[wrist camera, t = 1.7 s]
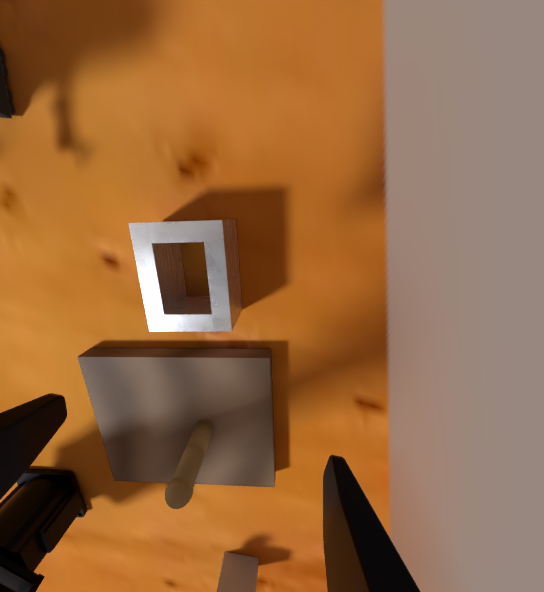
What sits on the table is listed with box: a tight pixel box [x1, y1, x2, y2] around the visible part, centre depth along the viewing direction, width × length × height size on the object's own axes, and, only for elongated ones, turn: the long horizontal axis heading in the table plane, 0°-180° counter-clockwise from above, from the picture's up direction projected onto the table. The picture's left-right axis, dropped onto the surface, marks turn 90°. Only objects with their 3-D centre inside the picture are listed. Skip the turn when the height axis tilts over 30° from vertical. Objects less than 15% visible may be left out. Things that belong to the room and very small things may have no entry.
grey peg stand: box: [78, 348, 275, 509], centre depth 20 cm, size 16×14×8 cm
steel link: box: [128, 219, 242, 331], centre depth 18 cm, size 6×7×4 cm
